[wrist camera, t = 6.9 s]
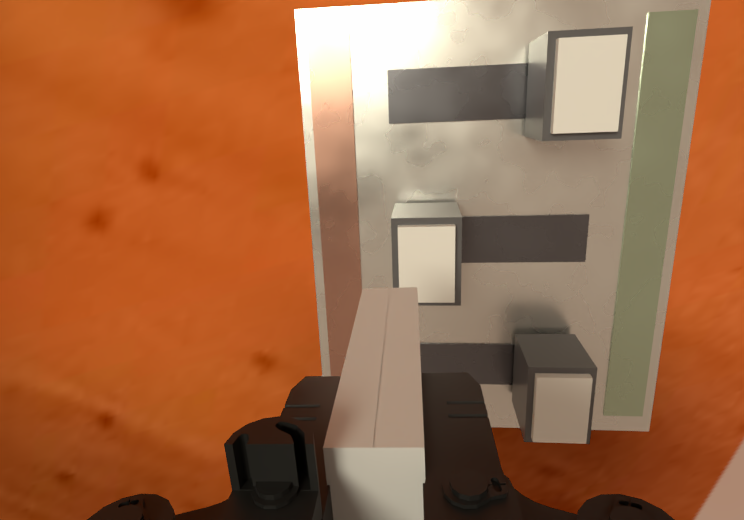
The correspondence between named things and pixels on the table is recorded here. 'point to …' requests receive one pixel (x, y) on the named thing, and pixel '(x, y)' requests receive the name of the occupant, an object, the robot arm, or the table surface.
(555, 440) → the breaker
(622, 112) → the block
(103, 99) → the table surface
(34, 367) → the table surface
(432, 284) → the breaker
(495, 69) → the panel
